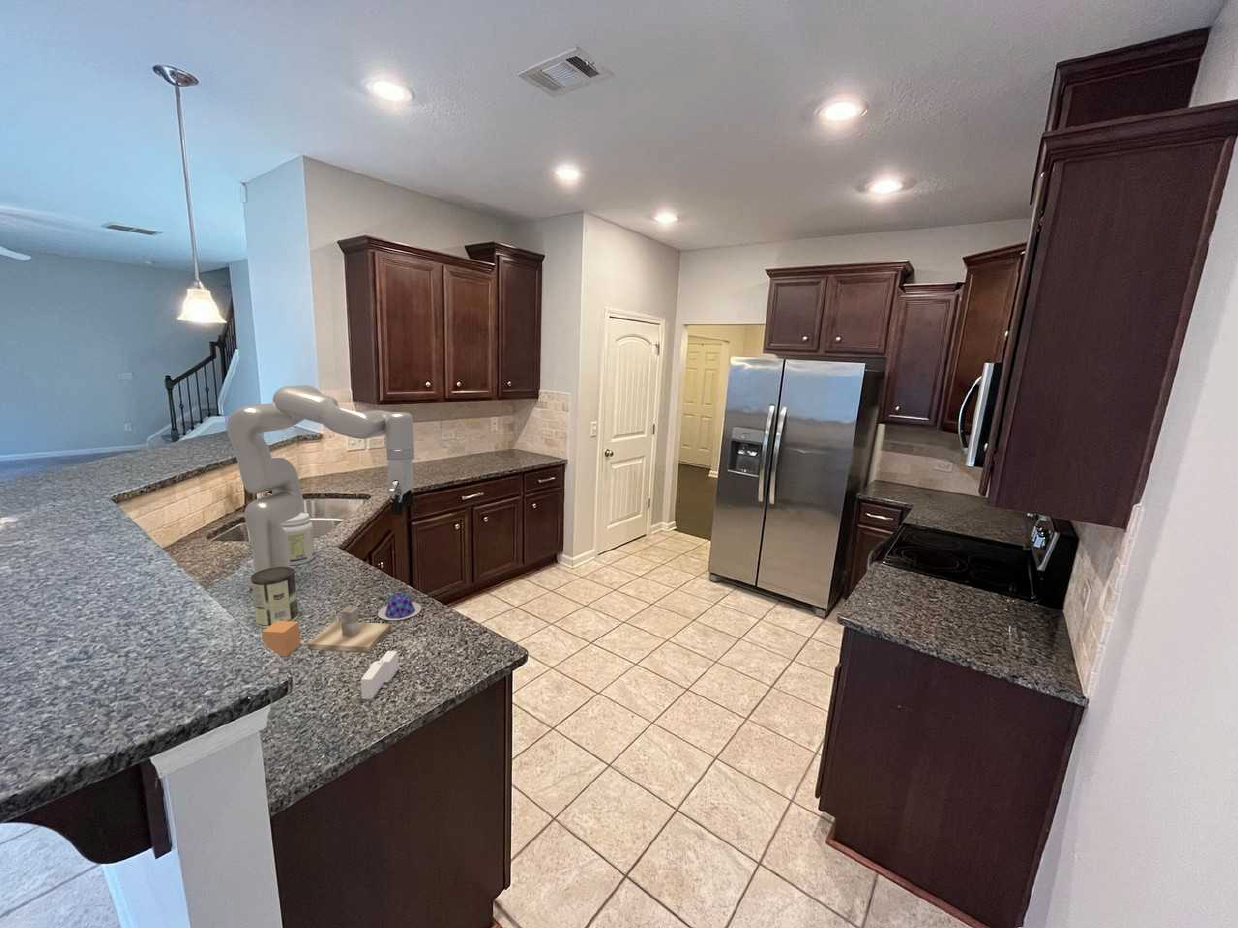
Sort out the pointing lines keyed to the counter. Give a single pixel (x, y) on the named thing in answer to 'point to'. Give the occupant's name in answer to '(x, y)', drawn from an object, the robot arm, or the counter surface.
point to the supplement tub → (300, 539)
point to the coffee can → (274, 596)
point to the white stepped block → (379, 674)
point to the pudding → (399, 607)
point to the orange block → (282, 637)
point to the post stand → (350, 634)
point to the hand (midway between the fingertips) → (403, 510)
